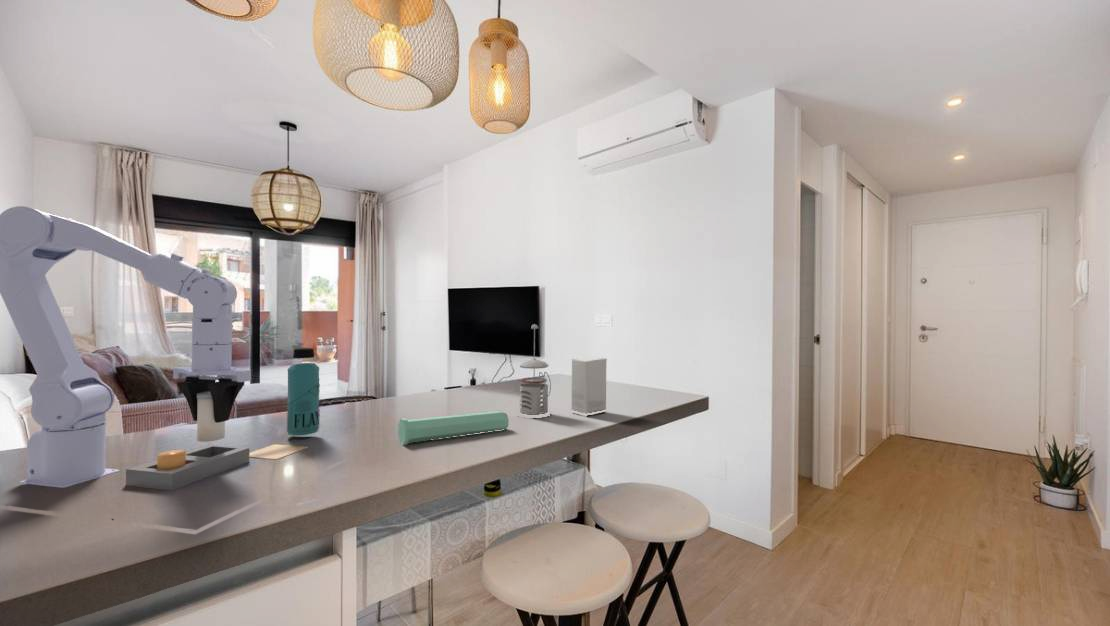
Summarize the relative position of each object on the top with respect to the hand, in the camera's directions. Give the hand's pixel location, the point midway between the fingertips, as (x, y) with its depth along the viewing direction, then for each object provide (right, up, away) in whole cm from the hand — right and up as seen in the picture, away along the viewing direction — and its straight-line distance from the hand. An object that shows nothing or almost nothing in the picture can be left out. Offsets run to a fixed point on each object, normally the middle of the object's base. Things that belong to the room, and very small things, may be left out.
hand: (211, 420), depth 83 cm
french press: (+56, -9, +45) cm, 72 cm away
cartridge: (0, -3, 0) cm, 3 cm away
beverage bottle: (+6, -9, +20) cm, 22 cm away
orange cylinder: (-1, -7, -7) cm, 10 cm away
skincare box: (+71, -9, +48) cm, 86 cm away
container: (+39, -9, +23) cm, 46 cm away
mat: (+6, -9, +8) cm, 14 cm away
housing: (-1, -9, -3) cm, 9 cm away
